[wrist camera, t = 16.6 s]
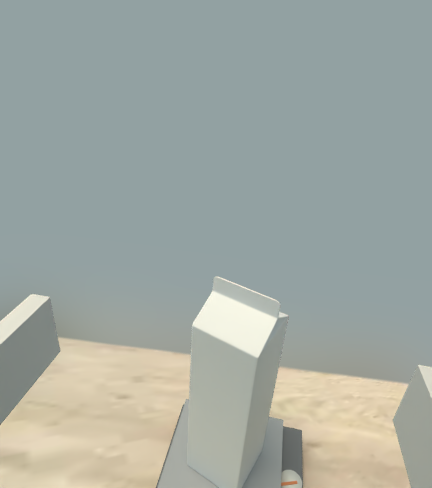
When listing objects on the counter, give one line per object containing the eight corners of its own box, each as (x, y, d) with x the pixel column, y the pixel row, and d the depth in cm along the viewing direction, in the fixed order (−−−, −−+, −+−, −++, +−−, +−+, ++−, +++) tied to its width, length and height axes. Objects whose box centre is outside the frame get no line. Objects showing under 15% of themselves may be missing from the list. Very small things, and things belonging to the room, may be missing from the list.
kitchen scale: (298, 440, 44) (304, 420, 42) (300, 571, 33) (307, 551, 31) (182, 414, 46) (183, 394, 45) (146, 528, 35) (145, 508, 33)
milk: (216, 422, 42) (232, 259, 31) (263, 451, 39) (296, 283, 29) (185, 466, 37) (191, 291, 27) (235, 502, 34) (263, 323, 24)
